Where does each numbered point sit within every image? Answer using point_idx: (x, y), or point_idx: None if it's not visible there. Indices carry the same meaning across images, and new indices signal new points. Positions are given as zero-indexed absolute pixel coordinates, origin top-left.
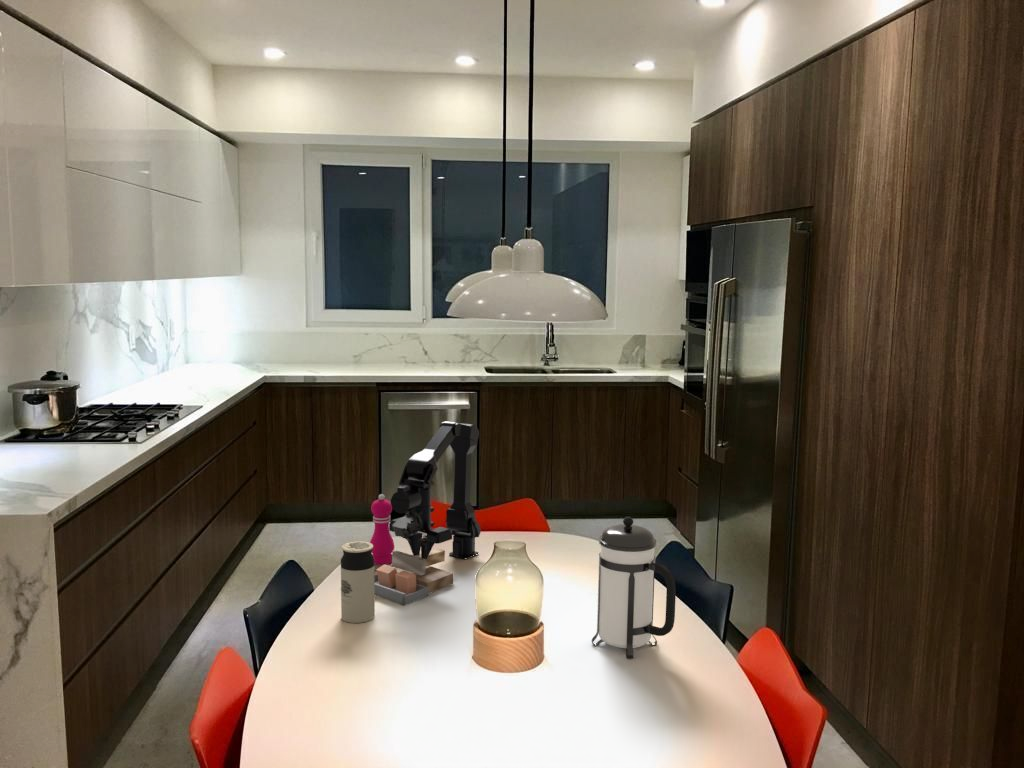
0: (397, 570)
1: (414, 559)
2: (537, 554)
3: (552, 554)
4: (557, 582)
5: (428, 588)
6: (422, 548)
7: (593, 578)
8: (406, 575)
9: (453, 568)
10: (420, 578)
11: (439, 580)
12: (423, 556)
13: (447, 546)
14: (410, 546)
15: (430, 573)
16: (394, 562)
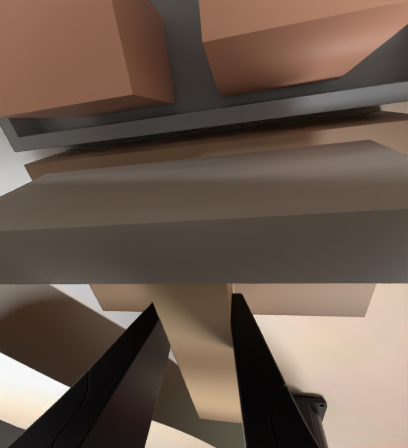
0: None
1: (24, 222)
2: (178, 437)
3: (162, 441)
4: (32, 380)
5: (18, 149)
6: (75, 410)
7: (31, 405)
8: (3, 27)
9: None
10: None
11: None
12: (129, 327)
13: (375, 425)
14: (287, 408)
15: None
16: (354, 154)
